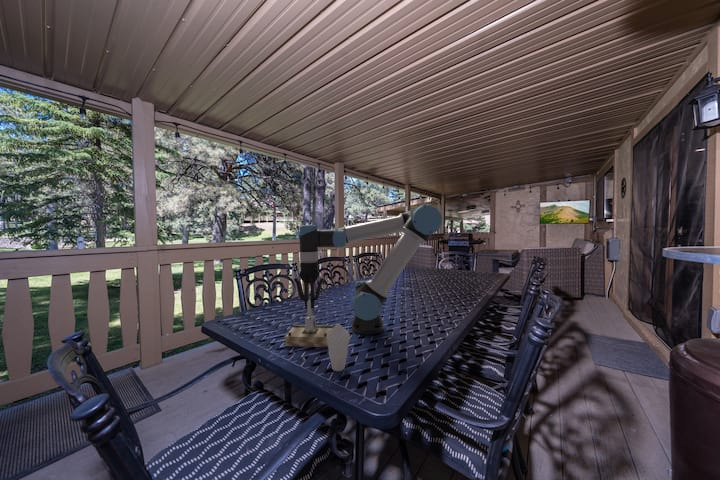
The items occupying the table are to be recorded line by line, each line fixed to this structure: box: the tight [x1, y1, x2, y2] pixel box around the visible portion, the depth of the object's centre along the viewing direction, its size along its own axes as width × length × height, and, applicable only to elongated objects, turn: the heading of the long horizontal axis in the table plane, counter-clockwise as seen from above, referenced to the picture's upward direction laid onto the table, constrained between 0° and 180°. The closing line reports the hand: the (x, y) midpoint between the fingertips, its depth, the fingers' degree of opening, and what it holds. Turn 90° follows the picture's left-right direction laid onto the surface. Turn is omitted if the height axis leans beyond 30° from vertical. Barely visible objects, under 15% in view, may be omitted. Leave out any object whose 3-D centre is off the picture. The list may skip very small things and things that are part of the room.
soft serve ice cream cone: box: [326, 322, 351, 372], centre depth 93 cm, size 8×8×16 cm
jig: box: [284, 323, 334, 348], centre depth 116 cm, size 18×12×5 cm, turn 86°
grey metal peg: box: [304, 315, 317, 334], centre depth 116 cm, size 4×4×10 cm
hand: (309, 316), depth 116 cm, fingers closed
